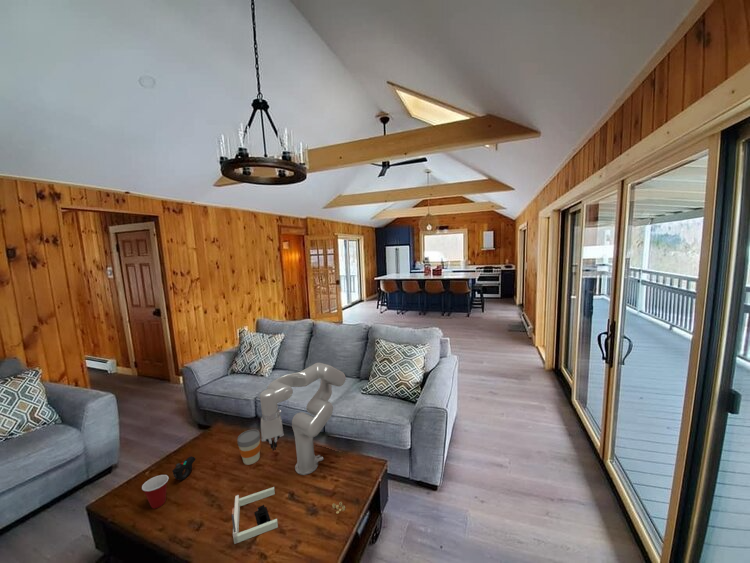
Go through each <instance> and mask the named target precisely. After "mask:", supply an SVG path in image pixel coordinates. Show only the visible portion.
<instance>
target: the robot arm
mask: <svg viewBox="0 0 750 563" xmlns="http://www.w3.org/2000/svg"><path fill="white" fill-rule="evenodd" d="M346 379H347V378H346V375H345V373H344V372H343V371H342V370H339V369H338V368H336V367H334V366H332V365H330V364H327V363H322V362H316V363H313V364H312V365H310V366H308V367H306V368H305V369H303V370H300V371H298V372H293V373H288V374H285V375H282V376H279V377H277V378H276V379H274V380H272V381H271V382H270V383H269V384H268V386H267V388H266V389H264V390H262V391H261V392H260V393H259V399H260V408H261V409H260V410H261V417H260V437H261V438H260V441H261V442H267V443H269V445H270V449H272V452H274V451H277V450H276V448H278V444H277V442H278V440H279V438H281V437H283V436H284V435H285V434H284V428H283V420H282V417H281V413H282V409H279V408H278V404H280V403H282V402H284V401H285V402H286V401H287V400H289V399H290V398H292V396H293V393H294V390H293V388H304V387H307V386H309V385H311V384H312V383H314V382H316V381H317V380H320V385H319V388H318V390H316V393H314V395H313V396H312V397H311V399H309V401H308V402H307V404H306V407H305V408H306V412H302V411H301V412H297V413H295V414H294V416H293V417H292V420H291V427H292V430H293V434H294V440H295V441H294V442H295V450H296V461H297V462H296V464H295V465H294V469H295V472H296V473H297V474H298V475H301V476H305V475H309V474H311V473H313V472H315V471H316V470H317V468H318V466H319V462H321V461H322V462H323V461H324V457H323V456H321V454H317V455H315V448H314V437H317V436H318V435H319V434H320V432H321V431H322V430H323V428H324V427H325V425H326V424H327V422H328V421H329V420H330V419H331V416H332V415H333V412H334V406H333V404H332V402H330V401H329V400H330V399H331V397H332V394H333V390H332V386H335V387H342V386H344V384H345V382H346Z"/></svg>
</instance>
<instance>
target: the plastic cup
mask: <svg viewBox="0 0 750 563" xmlns="http://www.w3.org/2000/svg"><path fill="white" fill-rule="evenodd" d="M169 479H170V478H169V476H168V475H167V474H160V475H156V476H153V477H151V478H149V479H148V480H147V481H145V482H144V483H143V484H142V485H141V490H142V491H143V492H144V495H145V496H146V499H147V501H148V503H149V505H150V507H151V508H152V509H158V508H160V507H162V506H163V505H164V504H165V503H166V500H167V488H168V486H167V485H168V481H169Z"/></svg>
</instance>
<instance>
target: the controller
mask: <svg viewBox="0 0 750 563" xmlns="http://www.w3.org/2000/svg"><path fill="white" fill-rule="evenodd" d="M195 461H196V458H195V456H189V457H187V458H186V459H185V460H184V461H182V462H181V463H180V462H178V463H176V464H175V468H174V469H173V470H172V475H173V477H174V479H176V480H178V481H183V480H186V479H187V477H188V476H189V475H190V474H191V472H192V469H193V463H194V462H195Z"/></svg>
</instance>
